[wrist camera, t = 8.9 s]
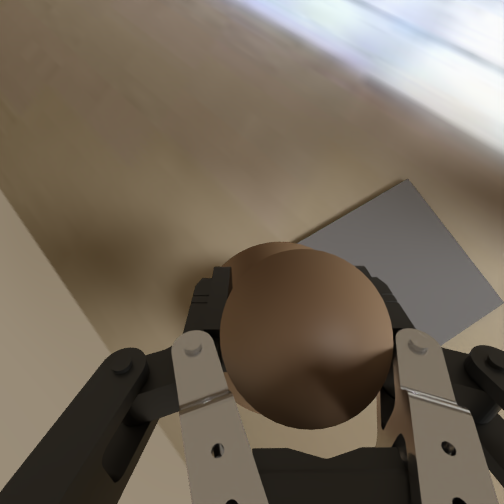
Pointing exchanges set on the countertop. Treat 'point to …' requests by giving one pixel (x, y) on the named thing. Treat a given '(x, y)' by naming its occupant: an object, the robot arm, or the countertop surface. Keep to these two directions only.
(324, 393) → the walnut lid
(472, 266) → the rubber mat
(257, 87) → the countertop surface
